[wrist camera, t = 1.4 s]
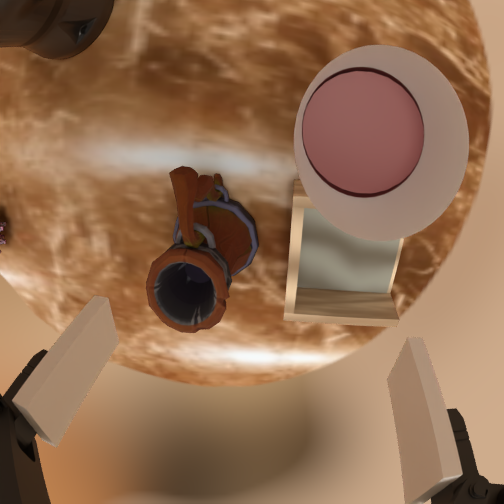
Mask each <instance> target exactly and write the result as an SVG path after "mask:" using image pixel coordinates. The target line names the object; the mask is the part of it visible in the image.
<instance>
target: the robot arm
mask: <svg viewBox="0 0 504 504" xmlns="http://www.w3.org/2000/svg"><path fill="white" fill-rule="evenodd" d="M113 2H114V0H0V47H24V48H26V49H28V50H30V51H32V52H34V53H36V54H38V55H39V56H41V57H44V58H48V59H65V58H69V57H72V56H74V55H76V54H78V53H80V52H81V51H83V50H84V49H86V48H87V47H88V46H89V45H90V44H91V43H92V42H93V41H94V40H95V39H96V38H97V36H98V35H99V34H100V32H101V31H102V30H103V28H104V26H105V24H106V23H107V21H108V18H109V16H110V13H111V10H112V7H113ZM118 344H119V339H118V335H117V331H116V328H115V324H114V320H113V316H112V312H111V308H110V304H109V299H108V298H106V297H101V296H97V295H94V296H93V298H92V299H91V300H90V301H89V302H88V303H87V305H86V306H85V307H84V308H83V309H82V310H81V312H80V313H79V314H78V315H77V316H76V318H75V319H74V320H73V321H72V322H71V324H70V325H69V326H68V327H67V329H66V330H65V331H64V332H63V333H62V335H61V336H60V337H59V339H58V340H57V341H56V342H55V343H54V345H53V346H52V347H51V349H50V350H49V351H46V350H44V349H43V350H41V351H40V352H39V353H37V354H36V355H34V356H33V357H32V359H31V360H30V361H29V363H28V364H27V366H25V368H24V369H23V370H22V373H20V374H19V376H18V377H17V378H16V379H15V381H14V382H13V383H12V385H11V386H10V388H9V389H8V391H7V392H6V393H5V394H4V396H3V397H2V396H1V394H0V504H51V502H50V499H49V496H48V492H47V488H46V484H45V480H44V477H43V472H42V468H41V463H40V458H39V453H38V448H37V443H36V440H35V438H34V437H35V435H36V433H37V434H38V435H39V436H40V438H41V439H42V440H43V441H45V442H47V443H49V444H51V445H53V446H55V447H57V446H58V445H59V443H60V441H61V439H62V437H63V435H64V434H65V432H66V430H67V428H68V427H69V425H70V423H71V421H72V420H73V418H74V416H75V414H76V413H77V411H78V409H79V408H80V406H81V404H82V402H83V401H84V399H85V397H86V396H87V393H88V392H89V391H90V389H91V387H92V385H93V384H94V382H95V381H96V379H97V377H98V376H99V374H100V372H101V371H102V369H103V367H104V366H105V364H106V363H107V361H108V359H109V358H110V356H111V355H112V353H113V351H114V350H115V348H116V347H117V345H118ZM387 381H388V387H389V392H390V397H391V402H392V408H393V414H394V419H395V426H396V432H397V439H398V446H399V453H400V460H401V468H402V478H403V486H404V498H405V504H423V503H425V502H426V501H428V500H429V499H430V498H431V504H504V485H502V484H501V485H500V484H491V483H489V482H488V480H487V479H486V478H485V477H484V476H481V475H479V473H478V470H477V466H476V462H475V458H474V454H473V450H472V447H471V443H470V440H469V436H468V432H467V431H466V425H465V422H464V419H463V417H462V416H461V414H460V413H459V412H458V410H457V409H446V406H445V402H444V399H443V396H442V393H441V389H440V386H439V383H438V380H437V377H436V374H435V371H434V368H433V365H432V362H431V360H430V357H429V354H428V351H427V348H426V346H425V344H424V340H423V338H416V337H407V339H406V341H405V344H404V346H403V348H402V350H401V352H400V354H399V357H398V358H397V360H396V362H395V364H394V367H393V368H392V370H391V372H390V374H389V376H388V378H387Z"/></svg>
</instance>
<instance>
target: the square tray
mask: <svg viewBox="0 0 504 504" xmlns="http://www.w3.org/2000/svg"><path fill="white" fill-rule="evenodd" d="M403 240H404V238H401V239H398V240H391V241H370V240H365V239H361V238H357V237H355V236H352V235H350V234H347V233H345V232H343V231H342V230H340V229H338V228H337V227H335V226H334V225H333V224H331V223H330V222H329V221H328V220H327V219H325V218H324V217H323V216H322V214H321V213H320V212H319V211H318V210H317V209H316V207H315V206H314V205H313V203H312V202H311V200H310V199H309V197H308V195H307V194H306V192H305V189H304V187H303V185H302V182H301V180H296V179H294V192H293V207H292V222H291V236H290V250H289V263H288V275H287V287H286V298H285V309H284V320H286V321H298V322H311V323H326V324H342V325H362V326H386V327H397V325H398V323H399V317H398V314H397V311H396V308H395V305H394V303H393V300H392V297H391V295H390V292H391V288H392V285H393V281H394V277H395V273H396V270H397V266H398V262H399V257H400V253H401V249H402V245H403Z"/></svg>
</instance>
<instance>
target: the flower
mask: <svg viewBox="0 0 504 504" xmlns="http://www.w3.org/2000/svg"><path fill="white" fill-rule="evenodd" d="M4 226H6V222H0V231H2V230H4V228H3V227H4ZM3 238H4V235H2V234H0V244H3V243H4V244H6V240H4V239H3ZM0 253H1V250H0Z"/></svg>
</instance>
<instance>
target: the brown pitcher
mask: <svg viewBox="0 0 504 504" xmlns="http://www.w3.org/2000/svg"><path fill="white" fill-rule="evenodd" d="M169 174H170V178H171V181H172V185H173V189H174V193H175V197H176V201H177V211H178V217H177V220H176V224H175V229H174V233H173V239H174V243H175V244H174V245H172V246H171V247H170V248H169V249H168V250H167V251H166V252H165V253H164V254H163V255H161V256H160V257H159V258H157V259H156V260H155V261H153V262H152V265H151V268H150V272H149V275H148V278H147V281H146V285H147V286H146V290H147V296H148V302H149V306H150V307H151V309H152V310H153V311H154V312H155V313H156V315H157V316H158V317H159V318H160V319H161V321H162V322H163V323H165V324H166V325H167V326H169V327H171V328H173V329H175V330H177V331H180V332H186V333H196V332H197V331H199V330H200V329H210V328H211V327H213V326H214V325H216V324H217V323H219V322H220V320H221V318H222V316H223V314H224V312H225V310H226V301H225V299H227V298H229V293H228V290H229V288H230V285H231V282H232V279H231V276H234V275H236V274H237V273H239V272H240V271H242V270H243V269H244V268H246V267H247V266H249V265H250V264H251V263H252V260H253V258H254V256H255V253H256V251H257V249H258V246H259V243H258V237H257V232H256V226H255V221H254V219H253V218H252V217H251V216H250V215H249V214H248V212H247V211H246V210H245V209H244V208H243V207H242V206H241V204H240V203H239V202H236V201H233V200H230V199H229V196H228V192H227V191H226V189H225V188H224V187H223V184H222V177H221V176H220V174H215V175H214V181H213V177H212V176H208V175H200V176H199V178H198V174H197V172H196V171H195V170H194V169H192V168H191V167H185V166H181V167H179V168H176V169H174V170H173V171H171V172H170V173H169ZM222 194H223V196H224V197H221V195H222Z"/></svg>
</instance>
